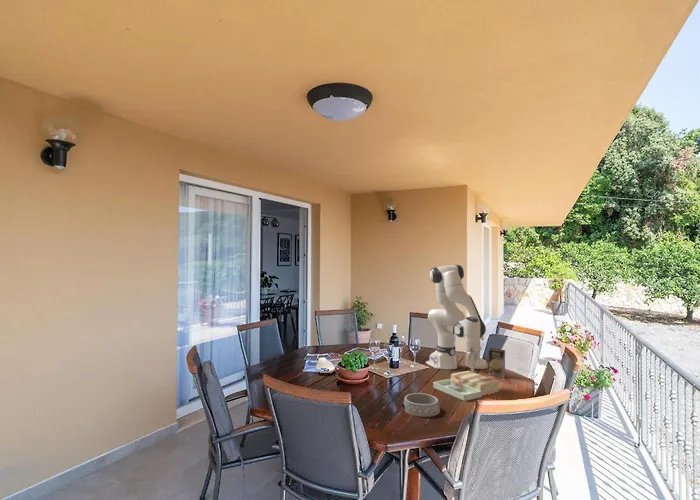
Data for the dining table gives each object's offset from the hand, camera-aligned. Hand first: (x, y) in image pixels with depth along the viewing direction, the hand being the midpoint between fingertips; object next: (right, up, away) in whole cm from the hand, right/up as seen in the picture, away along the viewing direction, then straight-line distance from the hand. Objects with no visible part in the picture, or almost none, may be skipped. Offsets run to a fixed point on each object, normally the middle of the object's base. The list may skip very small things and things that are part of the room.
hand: (472, 370), depth 212 cm
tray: (-11, -9, -7) cm, 16 cm away
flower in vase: (+17, -11, +41) cm, 46 cm away
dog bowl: (-35, -9, -31) cm, 47 cm away
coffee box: (+23, -11, +24) cm, 35 cm away
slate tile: (-12, -7, -5) cm, 15 cm away
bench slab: (+1, -10, 0) cm, 10 cm away
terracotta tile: (-9, -6, -2) cm, 11 cm away
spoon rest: (-87, -11, +34) cm, 94 cm away
